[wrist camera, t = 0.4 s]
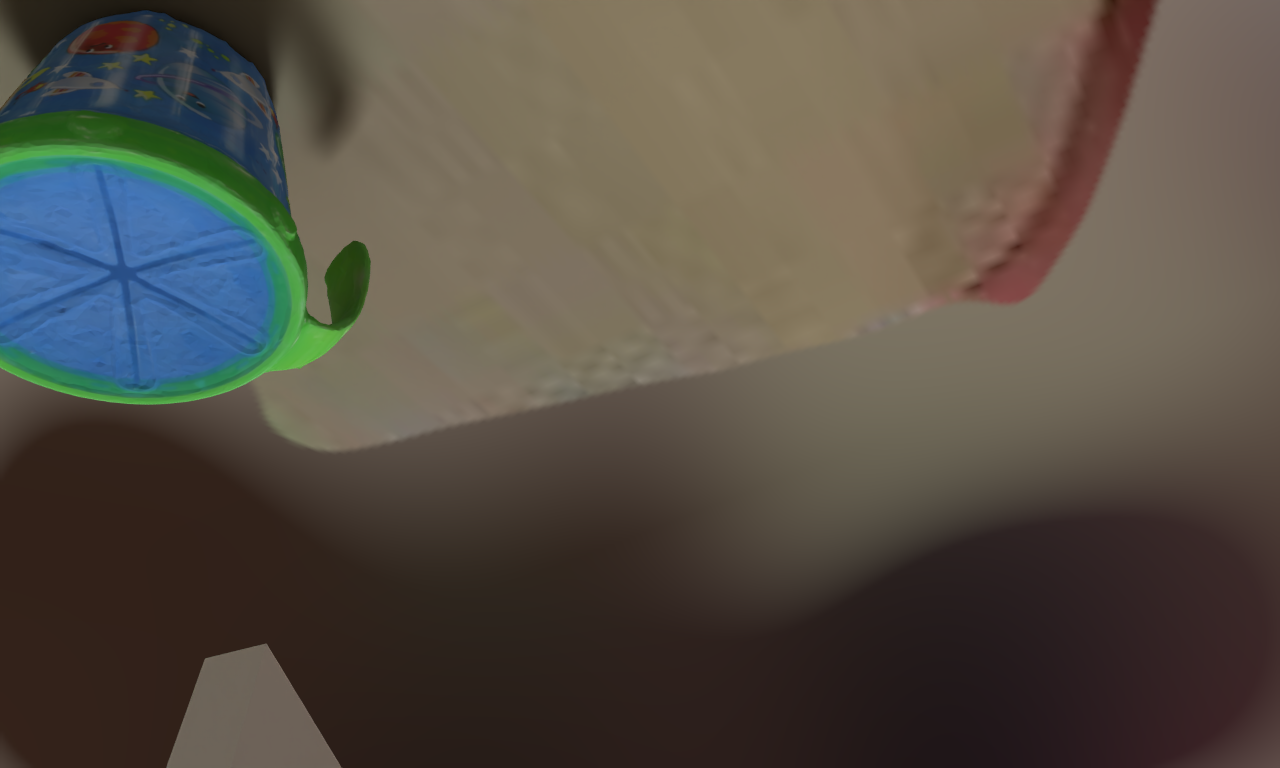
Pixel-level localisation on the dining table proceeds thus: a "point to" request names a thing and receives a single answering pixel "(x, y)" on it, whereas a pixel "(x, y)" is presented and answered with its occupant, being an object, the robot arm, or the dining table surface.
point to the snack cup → (153, 222)
